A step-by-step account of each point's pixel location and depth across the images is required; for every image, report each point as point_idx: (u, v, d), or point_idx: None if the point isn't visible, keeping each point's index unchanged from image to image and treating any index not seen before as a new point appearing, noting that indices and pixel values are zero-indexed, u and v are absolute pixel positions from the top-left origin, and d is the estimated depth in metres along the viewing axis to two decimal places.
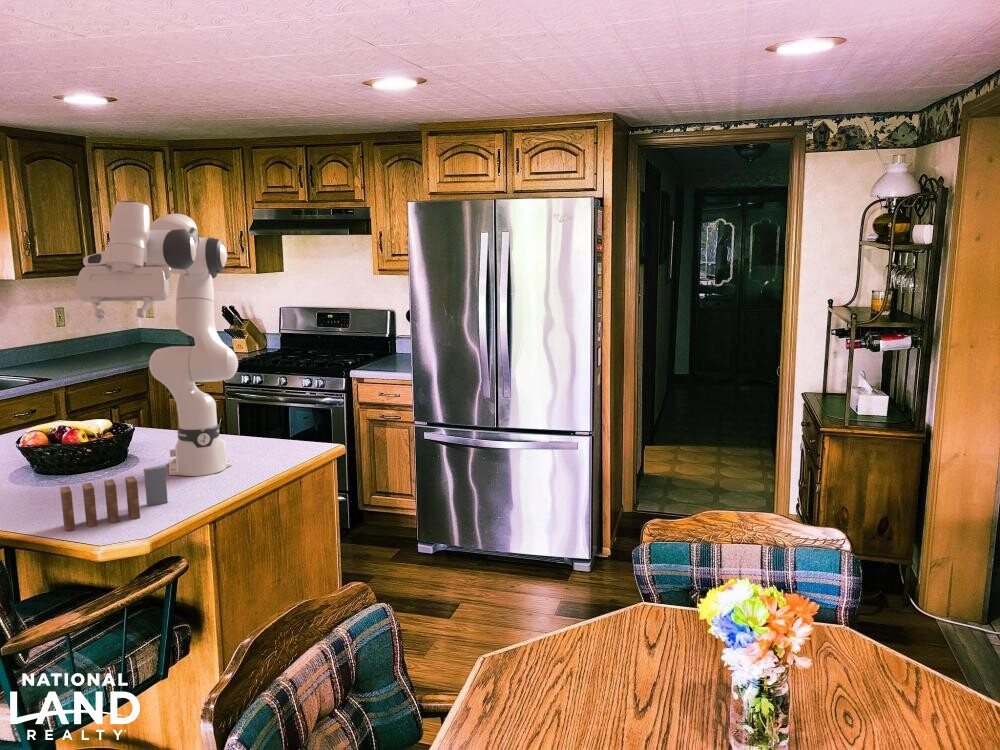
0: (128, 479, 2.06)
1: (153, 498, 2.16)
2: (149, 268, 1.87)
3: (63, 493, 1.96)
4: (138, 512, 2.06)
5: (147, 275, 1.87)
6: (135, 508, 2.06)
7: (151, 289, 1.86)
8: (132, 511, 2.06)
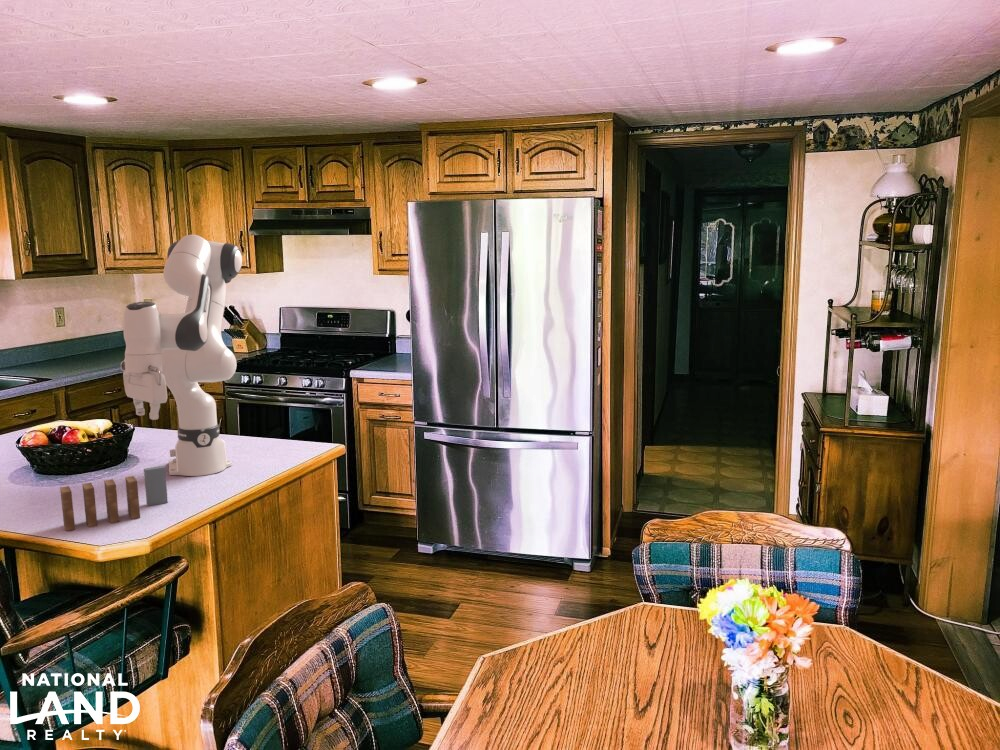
0: (128, 479, 2.06)
1: (153, 498, 2.16)
2: (146, 376, 2.02)
3: (63, 493, 1.96)
4: (138, 512, 2.06)
5: (147, 382, 2.03)
6: (135, 508, 2.06)
7: (149, 397, 2.02)
8: (132, 511, 2.06)
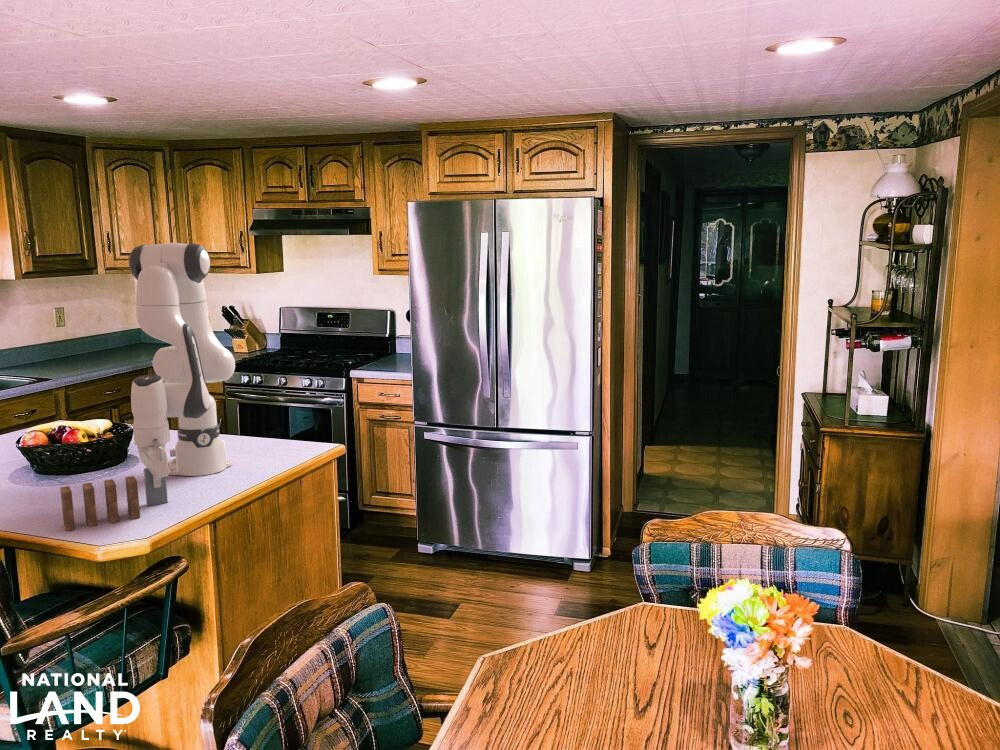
0: (128, 479, 2.06)
1: (153, 498, 2.16)
2: (150, 450, 2.09)
3: (63, 493, 1.96)
4: (138, 512, 2.06)
5: (151, 455, 2.10)
6: (135, 508, 2.06)
7: (152, 471, 2.09)
8: (132, 511, 2.06)
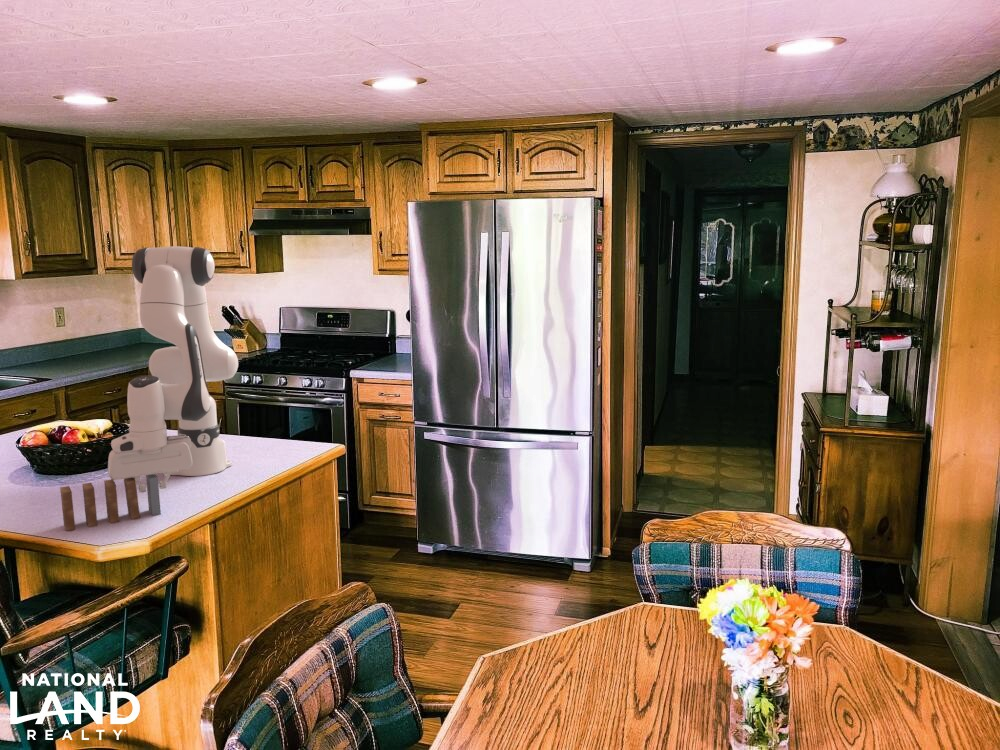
0: (126, 479, 2.06)
1: None
2: (176, 445, 2.10)
3: (63, 493, 1.96)
4: (138, 512, 2.06)
5: (174, 451, 2.10)
6: (135, 508, 2.06)
7: (181, 464, 2.11)
8: (132, 511, 2.06)
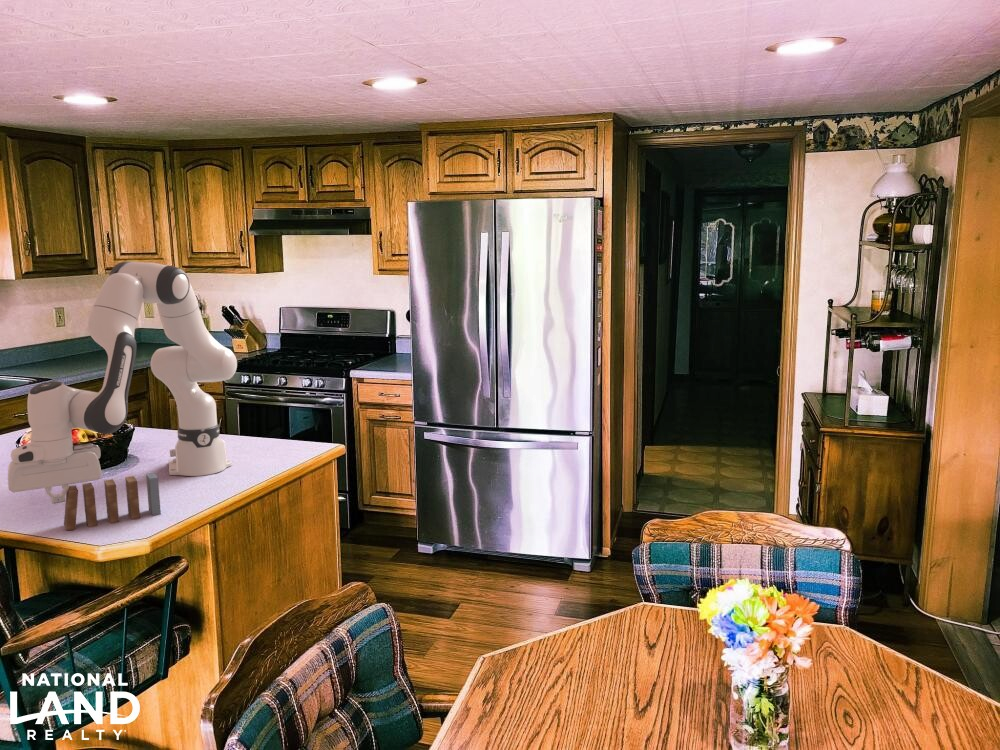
0: (128, 479, 2.06)
1: None
2: (82, 455, 1.98)
3: (70, 491, 1.97)
4: (138, 512, 2.06)
5: (81, 461, 1.98)
6: (135, 508, 2.06)
7: (88, 475, 1.99)
8: (132, 511, 2.06)
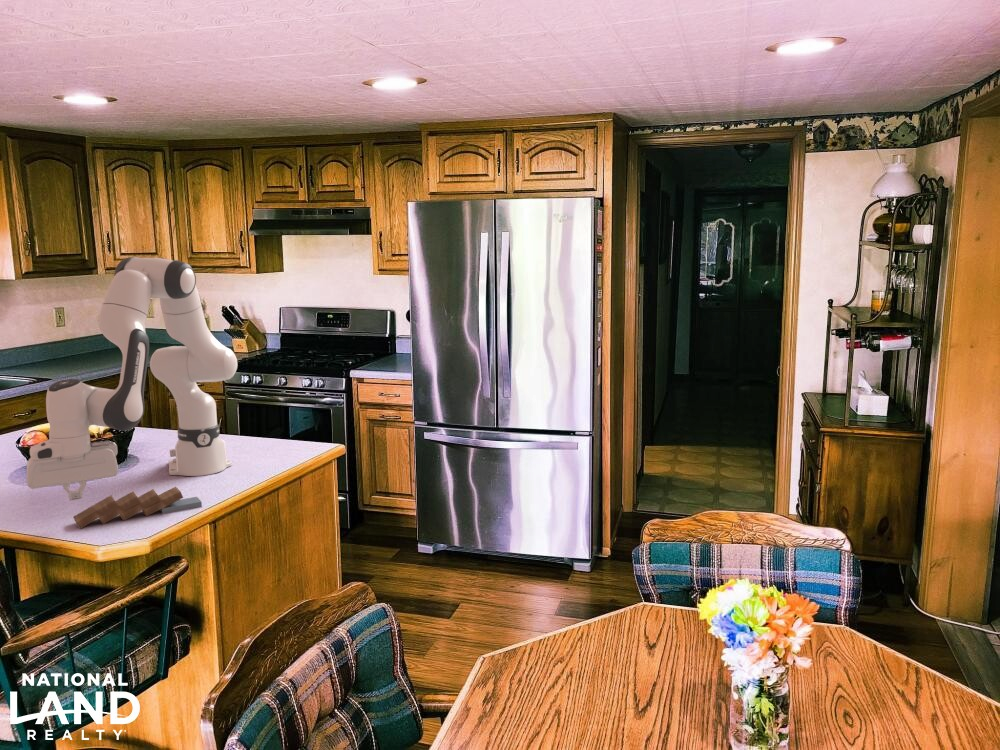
0: (178, 490, 2.14)
1: None
2: (100, 452, 2.00)
3: (114, 501, 2.03)
4: (151, 512, 2.08)
5: (99, 458, 2.00)
6: (155, 508, 2.09)
7: (106, 472, 2.01)
8: (151, 507, 2.08)
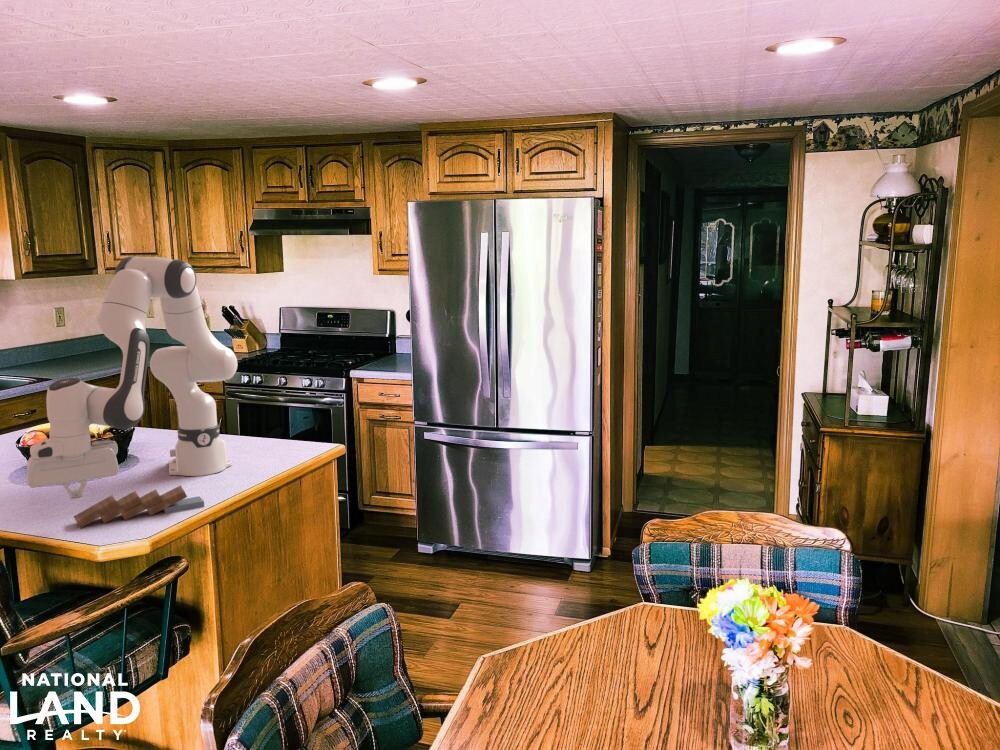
0: None
1: None
2: (100, 451, 2.00)
3: (115, 501, 2.03)
4: (155, 511, 2.09)
5: (99, 457, 2.00)
6: (159, 507, 2.09)
7: (106, 471, 2.01)
8: (155, 506, 2.08)
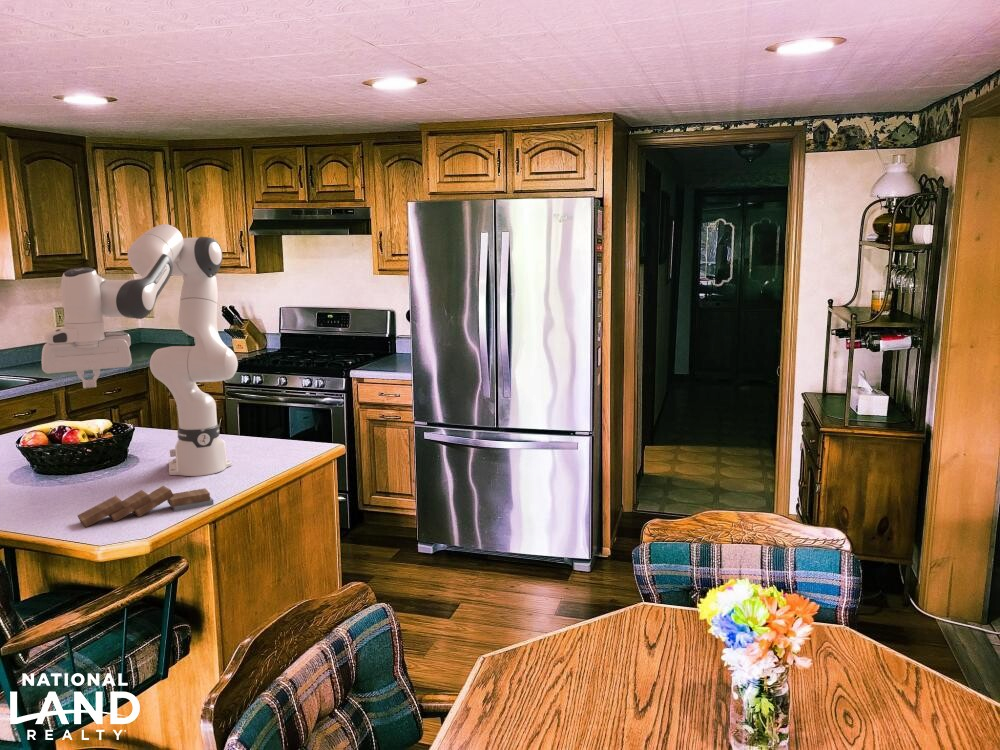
0: None
1: None
2: (113, 341, 2.02)
3: (120, 501, 2.05)
4: (177, 504, 2.12)
5: (112, 347, 2.03)
6: (181, 502, 2.13)
7: (119, 362, 2.04)
8: (178, 499, 2.12)
